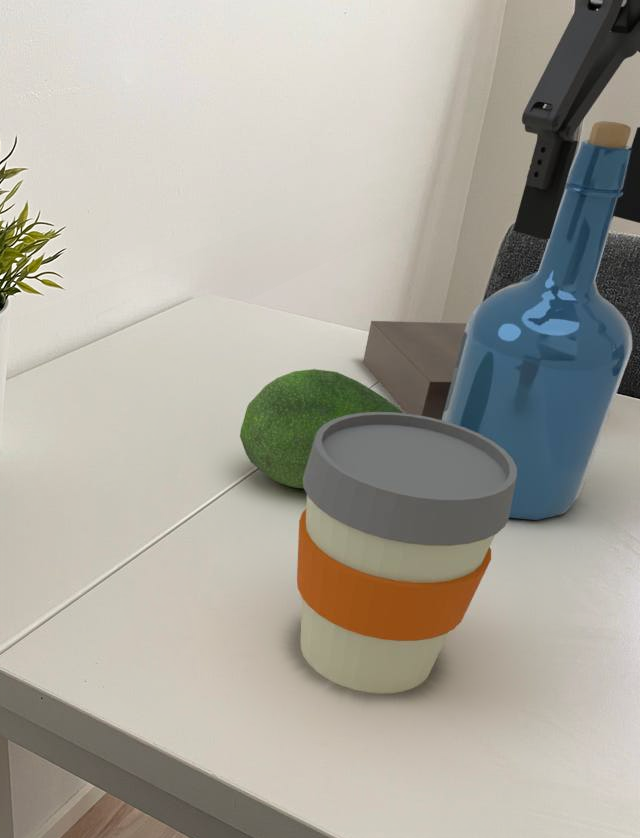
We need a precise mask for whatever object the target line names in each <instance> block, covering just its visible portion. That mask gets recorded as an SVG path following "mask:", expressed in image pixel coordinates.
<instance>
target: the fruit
mask: <svg viewBox="0 0 640 838" xmlns="http://www.w3.org/2000/svg"><path fill="white" fill-rule="evenodd" d="M366 412H395V413H404V411H403V410H401V409H399V408H398V407H397V406H396V405H394V404H393V403H392V402H391V401H389V400H388V399H386V398H385V397H383V396H382V395H381V394H380V393H378V392H377V391H374V390H373V389H372V388H369V387H368V386H366V385H364V384H363V383H361V382H359V381H358V380H355V379H354V378H351V377H350V376H346V375H344V374H342V373H339V372H338V371H334V370H333V371H332V370H325V369H318V368H317V369H316V368H312V369H304V370H303V369H302V370H297V371H296V370H295V371H292V372H290V373H286V374H285V375H282V376H279V377H276V378H275V379H273V380H272V381H271V382H269V383H268V384H266V385H265V386H264V387H263V388H262V389H261V390H260V391H259V392H258V393H257V395H256V396H254V398H253V399H252V400H251V401H250V402H249V403H248V404H247V407H246V410H245V414H244V418H243V421H242V424H241V427H240V433H239V438H240V441H241V444H242V446H243V449H244V451H245V454H246V457H247V458H248V459H249V461H250V463H251V464H252V465H254V467H256V468H257V469H258V470H259V471H260V472H261V473H263V474H264V475H266V476H267V477H268V478H269V479H271V480H272V481H274V482H276V483H279V484H281V485H285V486H287V487H290V488H294V489H295V488H296V489H304V487H303V476H304V472H305V469H306V466H307V462H308V459H309V456H310V452H311V449H312V446H313V442H314V439H315V436H316V433H317V431H318V430H319V429H320V428H321V427H322V426H323V425H324V424H325V423H327V422H329V421H331V420H333V419H336V418H339V417H342V416H345V415H350V414H356V413H366Z"/></svg>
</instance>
